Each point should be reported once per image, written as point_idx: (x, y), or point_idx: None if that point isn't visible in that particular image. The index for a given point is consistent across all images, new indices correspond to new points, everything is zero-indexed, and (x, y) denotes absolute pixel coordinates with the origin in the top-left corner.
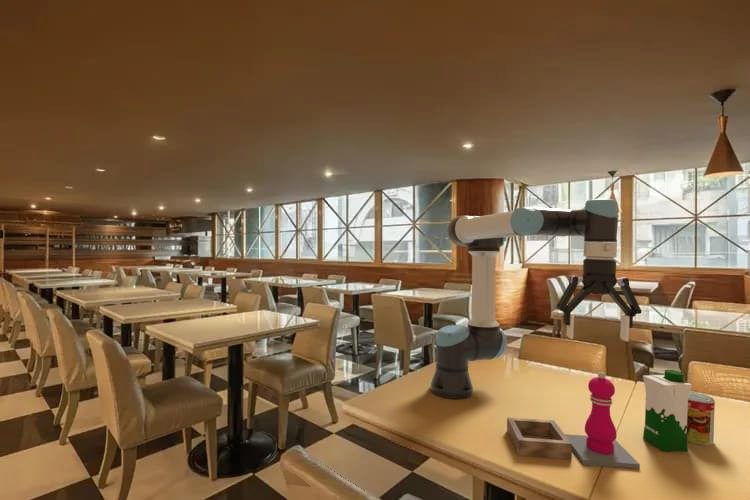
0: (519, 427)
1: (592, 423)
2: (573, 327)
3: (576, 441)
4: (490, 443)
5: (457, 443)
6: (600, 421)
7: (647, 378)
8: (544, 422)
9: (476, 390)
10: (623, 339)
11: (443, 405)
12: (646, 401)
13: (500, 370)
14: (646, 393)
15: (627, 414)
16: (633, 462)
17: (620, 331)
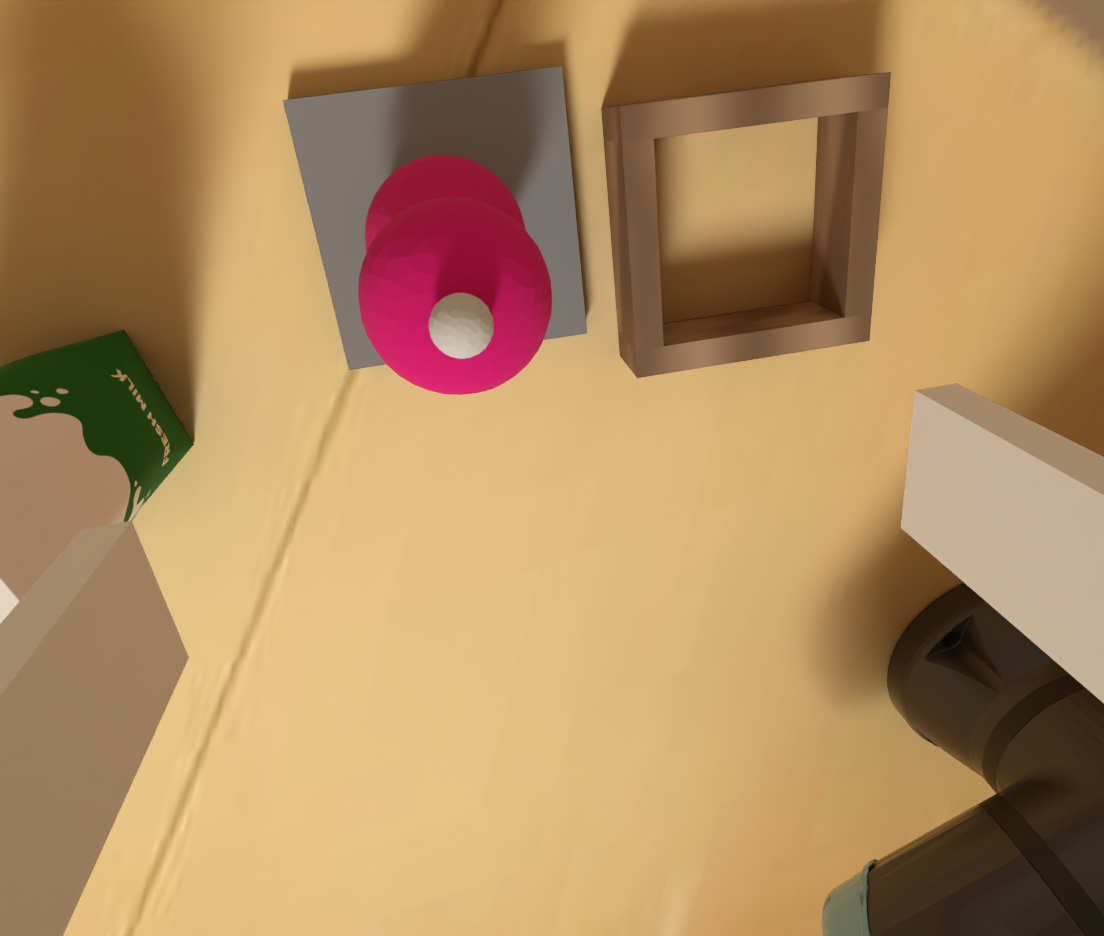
0: (800, 312)
1: (505, 207)
2: (1047, 466)
3: None
4: (944, 168)
5: (1097, 122)
6: (465, 194)
7: None
8: (693, 340)
9: (862, 697)
10: (149, 583)
11: None
12: (111, 505)
13: (700, 932)
14: None
15: (210, 680)
16: (311, 110)
17: (148, 741)
